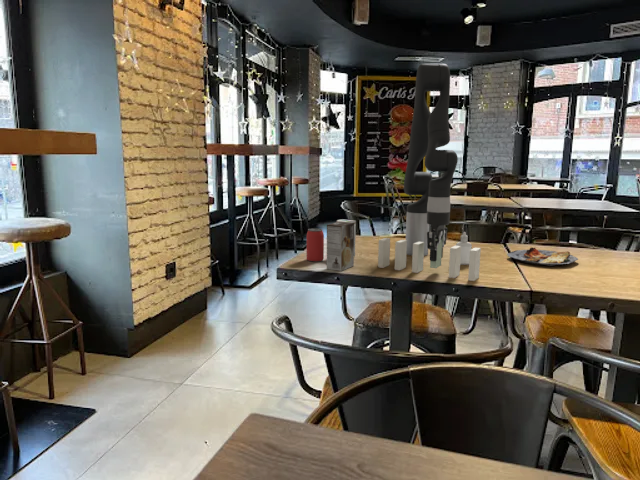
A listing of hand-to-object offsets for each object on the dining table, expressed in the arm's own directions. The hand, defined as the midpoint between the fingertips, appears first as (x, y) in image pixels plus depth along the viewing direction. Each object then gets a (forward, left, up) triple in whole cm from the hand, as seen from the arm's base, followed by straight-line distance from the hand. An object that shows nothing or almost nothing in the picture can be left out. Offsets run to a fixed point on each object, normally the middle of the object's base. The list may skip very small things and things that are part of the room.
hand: (436, 259), depth 168 cm
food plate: (-43, +27, -5) cm, 51 cm away
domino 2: (0, -13, -5) cm, 14 cm away
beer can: (+6, -46, -5) cm, 46 cm away
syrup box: (-7, -40, -5) cm, 41 cm away
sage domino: (0, 0, -3) cm, 3 cm away
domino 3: (0, -7, -5) cm, 8 cm away
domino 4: (0, +6, -5) cm, 8 cm away
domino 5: (0, +13, -5) cm, 14 cm away
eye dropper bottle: (-20, +3, -5) cm, 21 cm away
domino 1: (0, -20, -5) cm, 20 cm away
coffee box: (+11, -32, -5) cm, 34 cm away
